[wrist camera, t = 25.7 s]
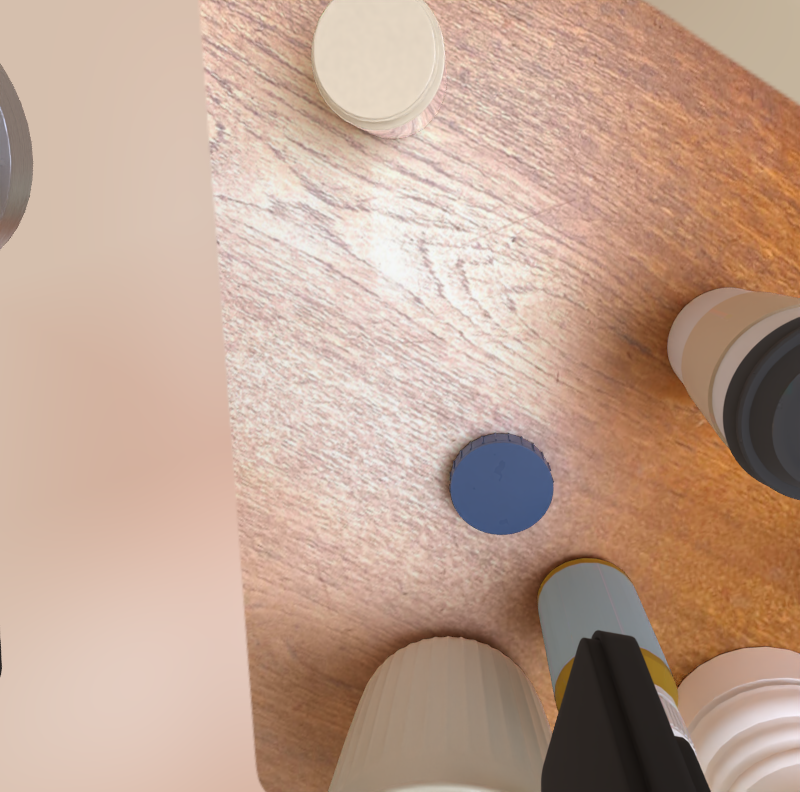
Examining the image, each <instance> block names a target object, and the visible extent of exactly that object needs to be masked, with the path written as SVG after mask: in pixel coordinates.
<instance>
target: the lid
mask: <svg viewBox="0 0 800 792" xmlns="http://www.w3.org/2000/svg"><path fill="white" fill-rule="evenodd" d="M550 471H551V469H550V466H549V463H547V461H546V459H545V457H544V455H543V452H540V451H539V449H538V448H537V447H536V446H534V443H530V442H529V441H527V440H525V439H523V437H518V436H515V435H511V434H509V433H508V434H496V433H494V434H491V435H487V436H481V438H478V439H476V440H474V441H473V442H469V444H468V445H467V446H466V447H465V448H464V449H463V450H460V453H459V455H458V456H457V458H456V460H455V461H453V466H452V470H451V472H450V493H451V498H452V502H453V505H454V507H455V509H456V511H457V512H458V514H459V515H460V516H461V517H462V518H463V520H464V521H466V522H467V523H468V524H469V525H471V526H472V527H474V528H476V529H478V530H480V531H483V532H486V533H490V534H497V535H507V534H513V533H517V532H520V531H523V530H525V529H527V528H529V527H531V526H532V525H534V524H535V523H536V522H537V521H539V520H540V519H541V518H542V516H543V515H544V514H545V513H546V511H547V509H548V508H549V505H550V503H551V500H552V496H553V483H554V481H553V478H552V475H551V473H550Z"/></svg>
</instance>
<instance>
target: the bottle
mask: <svg viewBox="0 0 800 792" xmlns="http://www.w3.org/2000/svg"><path fill="white" fill-rule="evenodd" d="M537 605H538V613H539V618H540V623H541V628H542V634H543V639H544V644H545V650H546V655H547V660H548V665H549V671H550V676H551V681H552V686H553V692H554V697H555V701H556V705H557V709H558V712H559V710H560V706H561V703H562V699H563V696H564V692H565V689H566V686H567V682H568V679H569V675H570V672H571V668H572V665H573V662H574V658H575V655H576V651H577V648H578V645H579V642H580V640H581V639H582V638H583V637H585V638H590V639H591V638H592V635H593V634H594V632H595V631H597V630H600V631H606V632H612V633H617V634H623V635H629V636H633V637H634V638H635V639H636V640H637V642H638V645H639V647H640V650H641V652H642V655H643V657H644V660H645V662H646V665H647V667H648V670H649V672H650V675H651V677H652V680H653V682H654V685H655V688H656V690H657V693H658V695H659V698H660V700H661V703H662V705H663V708H664V710H665V713H666V715H667V718H668V720H669V723H670V725H671V728H672V731H673V733H674V736H678V737H683V738H684V739H686V740H687V741H688V742H689V743H690V745H691V747H692V749H693V750H694V752H695V755H696V757H697V753H696V751H695V747H694V745H693V742H692V740H691V737H690V735H689V733H688V730H687V728H686V725H685V723H684V721H683V718H682V717H681V715H680V712H679V710H678V691H677V687H676V684H675V681H674V678H673V675H672V673H671V670H670V668H669V666H668V663H667V661H666V659H665V657H664V654H663V652H662V650H661V647H660V645H659V643H658V640H657V638H656V636H655V634H654V631H653V629H652V627H651V624H650V622H649V620H648V617H647V615H646V613H645V611H644V608H643V606H642V604H641V601H640V599H639V597H638V594H637V592H636V590H635V588H634V586H633V584H632V582H631V580H630V579H629V578H628V576H627V575H626V574H625V572H624V571H622V570H621V569H620V568H618V567H617V566H615V565H614V564H612V563H610V562H607V561H603V560H600V559H595V558H581V559H576V560H572V561H568V562H566V563H563V564H562V565H560V566H558V567H557V568H555V569H553V570H552V571H551V572H550V573H549V574H548V575H547V577H546V578H545V579H544V580H543V582H542V584H541V586H540V589H539V591H538V599H537Z"/></svg>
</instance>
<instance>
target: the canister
mask: <svg viewBox="0 0 800 792" xmlns="http://www.w3.org/2000/svg"><path fill="white" fill-rule="evenodd" d="M551 737H552V731H551V728H550V725H549V723H548V720H547V717H546V714H545V711H544V709H543V706H542V703H541V701H540V699H539V697H538V695H537V693H536V691H535V689H534V687H533V685H532V683H531V681H530V680H529V679H528V678H527V677H526V676H525V674H524V672H523V671H522V669H521V668H520V667H519V666H517V665H516V664H515V663H514V662H513V660H512V659H511V658H509V657H507V656H505V655H503V654H502V653H501V651H499V650H498V649H493V648H491V647H490V646H489V645H488V644H483V643H480V642H477V641H476V640H474V639H473V640H469V639H465V638H463V637H450V636H447V637H434V638H431V639H422V640H421V641H419V642H416V643H410V644H409V645H408V646H406V647H405V648H401V649H399V650H397V651H396V653H395V654H394V655H391V656H389V657H388V658H387V659H386V660H385V661H384V663H383V664H381V665H380V666H379V667H378V668H377V670H376V671H375V673H374V675H373V676H372V677H371V678H370V680H369V681H368V683H367V685H366V687H365V690H364V692H363V695H362V697H361V699H360V701H359V704H358V707H357V709H356V712H355V715H354V717H353V720H352V723H351V725H350V728H349V731H348V734H347V736H346V739H345V742H344V745H343V748H342V751H341V754H340V757H339V760H338V763H337V766H336V769H335V772H334V775H333V778H332V781H331V784H330V787H329V790H328V792H541V775H542V769H543V764H544V761H545V758H546V754H547V751H548V747H549V744H550V740H551Z"/></svg>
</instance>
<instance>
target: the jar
mask: <svg viewBox="0 0 800 792" xmlns="http://www.w3.org/2000/svg"><path fill="white" fill-rule="evenodd" d="M311 63H312V71H313V75H314V79H315V82H316V85H317V88H318V90H319V92H320V94H321V96H322V97H323V99H324V101H325V102H326V103H327V105H328V106H329V107H330V108H331V110H332V111H334V112H335V113H336V114H337V115H338V116H339V117H340V118H342V119H343V120H345V121H346V122H348V123H350V124H352V125H354V126H356V127H358V128H360V129H362V130H364V131H366V132H368V133H370V134H372V135H374V136H377V137H380V138H385V139H400V138H404V137H408V136H411V135H413V134H415V133H417V132H419V131H420V130H422V129H423V128H425V127H426V126H427V125H428V124H429V123H430V122H431V121H432V120H433V118H434V117H435V116H436V114H437V113H438V111H439V109H440V107H441V105H442V103H443V100H444V97H445V93H446V88H447V67H446V53H445V44H444V38H443V34H442V31H441V28H440V25H439V23H438V20H437V18H436V17H435V15H434V13H433V11H432V10H431V9H430V7H429V6H428V5H427V3H426V2H425V1H424V0H332V1H331V2H330V3H329V4H328V5H327V7H326V9H325V10H324V12H323V13H322V15H321V17H320V18H319V20H318V23H317V26H316V29H315V32H314V35H313V41H312V48H311Z"/></svg>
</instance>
